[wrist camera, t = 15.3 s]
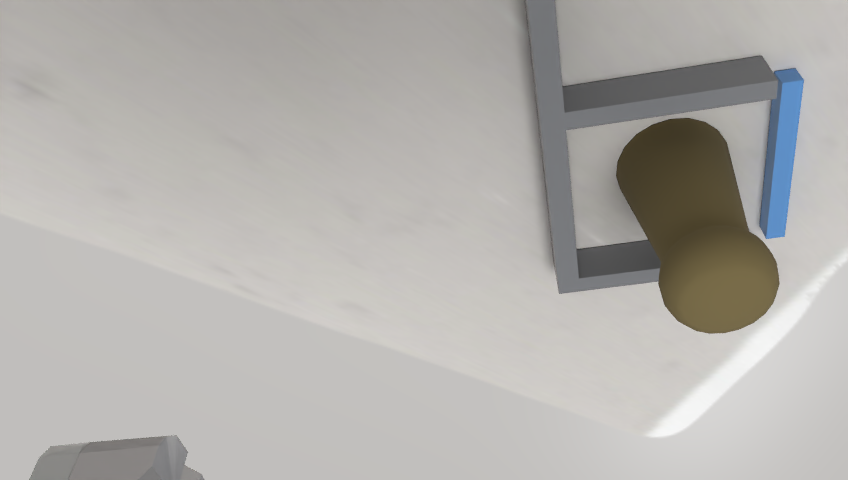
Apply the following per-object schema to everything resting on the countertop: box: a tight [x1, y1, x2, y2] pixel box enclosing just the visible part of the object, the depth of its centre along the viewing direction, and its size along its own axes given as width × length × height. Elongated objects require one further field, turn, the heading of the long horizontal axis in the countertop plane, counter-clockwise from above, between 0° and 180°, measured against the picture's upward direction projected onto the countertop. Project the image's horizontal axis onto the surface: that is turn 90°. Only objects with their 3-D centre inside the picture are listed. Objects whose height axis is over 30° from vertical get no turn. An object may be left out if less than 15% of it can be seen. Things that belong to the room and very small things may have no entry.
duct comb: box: [525, 0, 804, 294], centre depth 40 cm, size 13×23×2 cm, turn 10°
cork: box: [616, 118, 779, 333], centre depth 40 cm, size 6×6×11 cm
